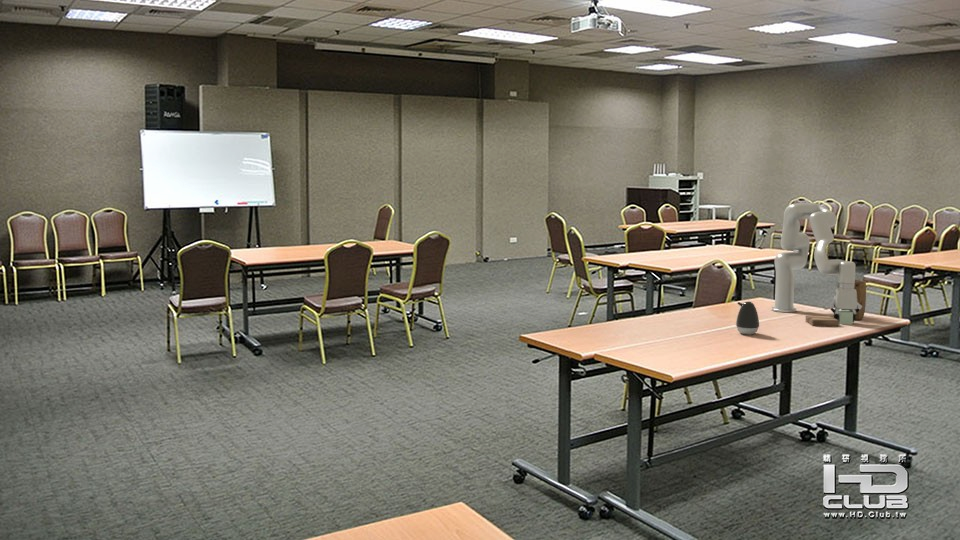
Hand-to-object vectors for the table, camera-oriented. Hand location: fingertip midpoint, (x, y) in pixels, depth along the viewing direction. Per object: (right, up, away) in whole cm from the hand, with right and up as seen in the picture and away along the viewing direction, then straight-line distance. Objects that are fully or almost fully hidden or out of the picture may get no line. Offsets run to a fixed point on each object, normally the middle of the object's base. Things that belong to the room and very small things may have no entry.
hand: (844, 321), depth 396 cm
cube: (0, -1, 0) cm, 1 cm away
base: (-12, -1, -3) cm, 13 cm away
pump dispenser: (-57, -4, -25) cm, 62 cm away
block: (+9, 0, +11) cm, 14 cm away
